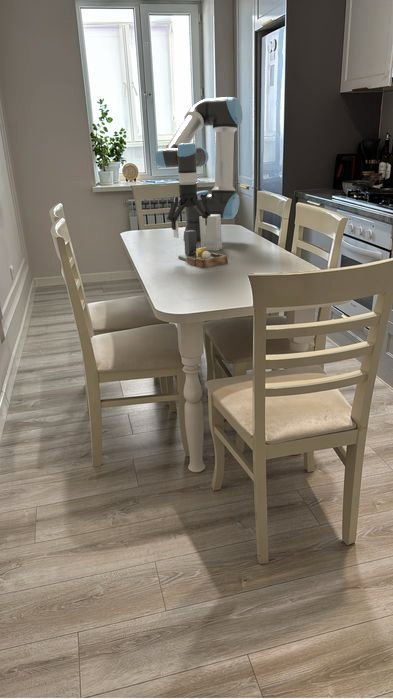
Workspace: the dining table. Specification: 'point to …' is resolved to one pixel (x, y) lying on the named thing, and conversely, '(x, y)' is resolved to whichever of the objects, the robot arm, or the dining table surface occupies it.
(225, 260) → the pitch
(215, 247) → the skincare box
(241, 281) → the dining table surface
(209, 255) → the ball
